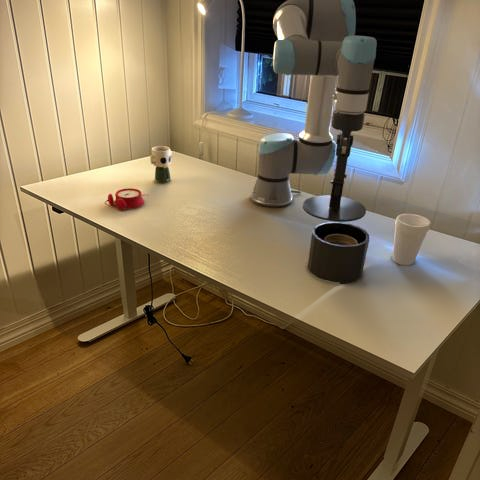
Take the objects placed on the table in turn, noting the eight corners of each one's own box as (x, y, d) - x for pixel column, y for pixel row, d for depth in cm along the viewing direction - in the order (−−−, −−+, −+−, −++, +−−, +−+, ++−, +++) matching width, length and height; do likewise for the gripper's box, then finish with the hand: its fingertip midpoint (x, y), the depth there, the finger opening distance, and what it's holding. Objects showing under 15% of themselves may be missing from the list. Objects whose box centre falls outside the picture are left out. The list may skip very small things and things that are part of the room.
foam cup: (401, 270, 141) (412, 229, 134) (380, 256, 148) (389, 216, 140) (425, 263, 145) (437, 223, 137) (404, 250, 152) (414, 211, 144)
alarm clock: (151, 193, 173) (116, 194, 163) (149, 210, 176) (114, 212, 165) (134, 185, 179) (99, 186, 168) (132, 202, 182) (97, 204, 171)
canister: (325, 252, 149) (331, 217, 142) (371, 269, 141) (379, 233, 134) (296, 270, 139) (300, 233, 132) (344, 290, 131) (351, 252, 124)
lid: (324, 194, 140) (328, 164, 134) (376, 211, 131) (383, 179, 126) (290, 210, 129) (293, 178, 124) (344, 229, 120) (350, 196, 115)
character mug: (158, 187, 189) (156, 153, 182) (146, 182, 193) (144, 149, 185) (178, 180, 196) (177, 147, 189) (167, 176, 200) (165, 143, 192)
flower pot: (352, 278, 135) (358, 250, 130) (319, 274, 137) (323, 246, 132) (352, 262, 143) (357, 236, 138) (320, 259, 144) (324, 232, 139)
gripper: (334, 103, 122) (322, 192, 136) (332, 117, 109) (318, 214, 123) (364, 105, 121) (349, 195, 135) (365, 120, 108) (348, 218, 122)
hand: (334, 204), depth 129 cm, fingers closed on lid, 3 cm apart
